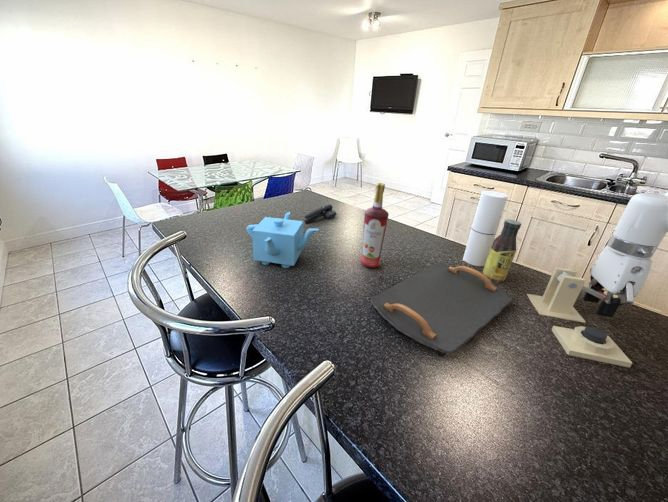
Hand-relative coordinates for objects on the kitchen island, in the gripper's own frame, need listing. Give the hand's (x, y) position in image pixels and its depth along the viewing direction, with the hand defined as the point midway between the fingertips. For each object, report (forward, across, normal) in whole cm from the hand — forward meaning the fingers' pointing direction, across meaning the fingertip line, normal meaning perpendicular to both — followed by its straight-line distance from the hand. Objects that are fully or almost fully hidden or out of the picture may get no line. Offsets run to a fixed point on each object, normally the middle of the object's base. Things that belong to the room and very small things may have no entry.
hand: (597, 307), depth 76 cm
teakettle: (+4, +2, +88) cm, 88 cm away
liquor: (+4, +8, +58) cm, 59 cm away
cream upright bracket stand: (+3, 0, +9) cm, 9 cm away
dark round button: (0, -14, +8) cm, 16 cm away
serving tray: (+4, -8, +38) cm, 39 cm away
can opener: (+4, +42, +84) cm, 94 cm away
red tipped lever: (-4, 0, +5) cm, 6 cm away
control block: (+3, -14, +8) cm, 16 cm away
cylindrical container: (+4, +21, +24) cm, 32 cm away
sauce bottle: (+4, +12, +20) cm, 24 cm away
